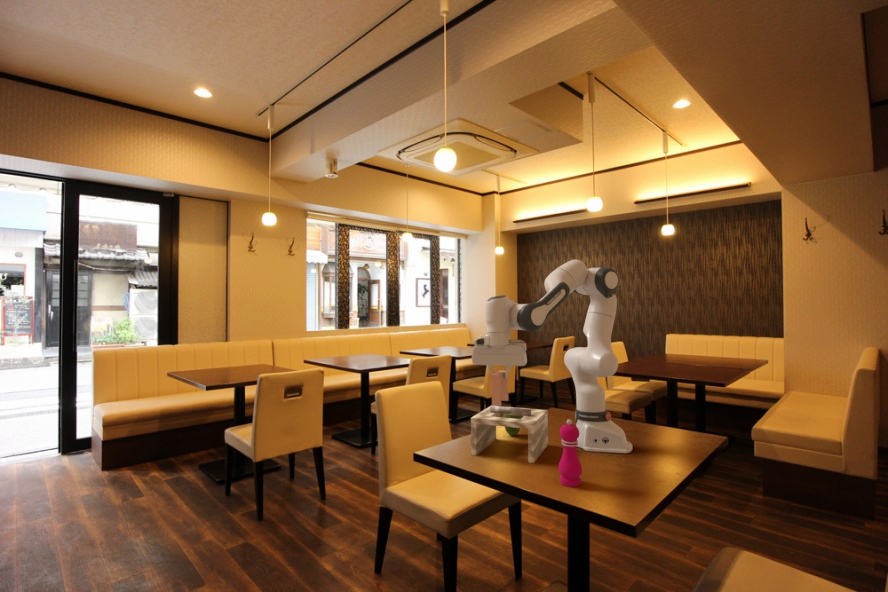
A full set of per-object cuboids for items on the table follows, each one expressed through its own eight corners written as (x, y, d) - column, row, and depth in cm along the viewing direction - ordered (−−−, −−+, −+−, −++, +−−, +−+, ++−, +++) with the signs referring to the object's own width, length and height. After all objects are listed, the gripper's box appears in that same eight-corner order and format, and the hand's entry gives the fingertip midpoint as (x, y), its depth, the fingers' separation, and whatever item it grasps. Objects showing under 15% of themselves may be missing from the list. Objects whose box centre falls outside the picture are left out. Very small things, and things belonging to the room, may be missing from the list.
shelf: (548, 445, 184) (547, 404, 185) (533, 463, 162) (533, 417, 163) (491, 438, 194) (491, 399, 195) (471, 454, 173) (470, 411, 173)
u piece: (508, 400, 170) (507, 370, 171) (500, 406, 161) (499, 374, 161) (500, 399, 172) (499, 370, 172) (491, 405, 162) (491, 374, 162)
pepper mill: (555, 479, 147) (554, 417, 147) (577, 478, 147) (576, 416, 148) (563, 488, 140) (562, 422, 140) (586, 487, 140) (584, 421, 141)
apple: (501, 437, 195) (501, 410, 196) (503, 432, 204) (503, 406, 204) (522, 438, 194) (522, 411, 194) (523, 433, 202) (523, 407, 202)
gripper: (528, 339, 165) (529, 377, 165) (475, 339, 174) (476, 375, 174) (524, 340, 160) (525, 380, 159) (469, 340, 168) (470, 378, 168)
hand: (499, 377), depth 167 cm, fingers closed on u piece, 3 cm apart
